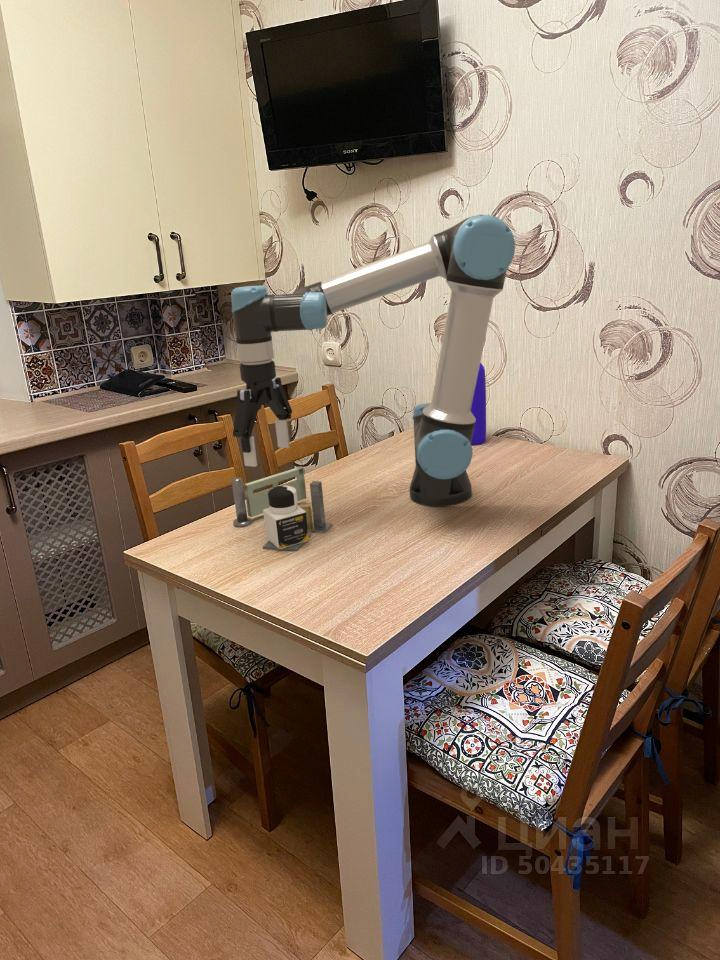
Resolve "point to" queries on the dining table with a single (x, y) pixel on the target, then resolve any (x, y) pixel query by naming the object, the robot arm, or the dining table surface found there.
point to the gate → (260, 499)
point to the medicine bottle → (285, 518)
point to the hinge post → (240, 504)
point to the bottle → (479, 408)
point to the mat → (291, 548)
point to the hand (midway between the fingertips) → (268, 456)
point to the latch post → (316, 510)
